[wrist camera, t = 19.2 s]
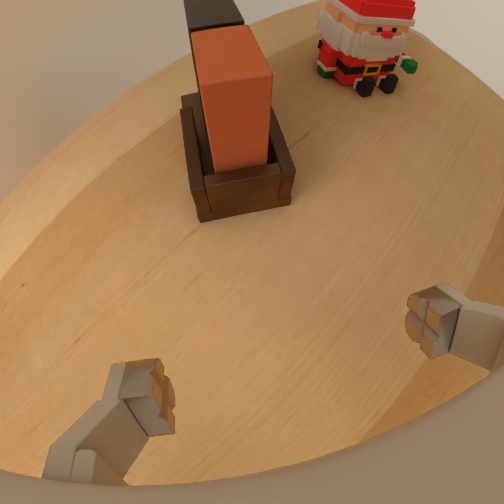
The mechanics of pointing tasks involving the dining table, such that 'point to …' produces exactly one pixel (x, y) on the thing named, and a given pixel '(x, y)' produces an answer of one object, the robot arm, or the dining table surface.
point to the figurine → (365, 42)
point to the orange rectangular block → (234, 96)
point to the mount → (198, 148)
